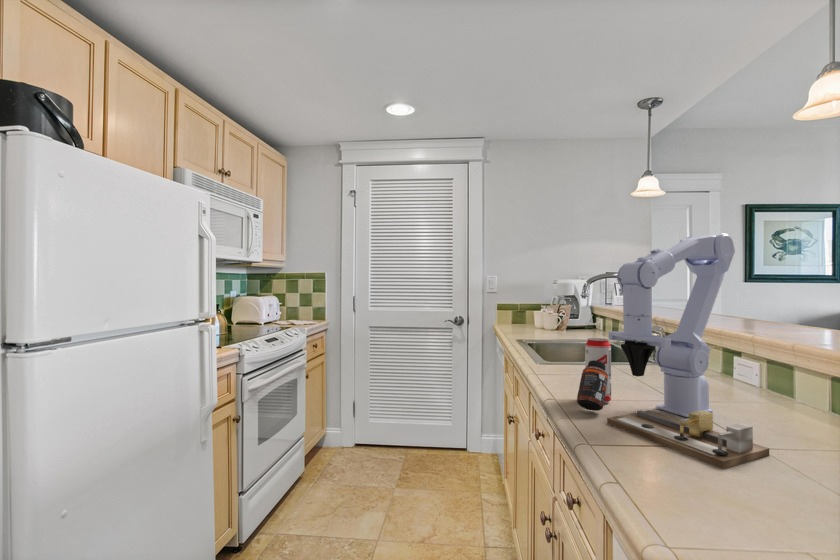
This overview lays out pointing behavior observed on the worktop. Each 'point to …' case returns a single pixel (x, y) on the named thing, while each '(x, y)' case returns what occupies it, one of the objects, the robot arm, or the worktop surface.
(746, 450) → the board
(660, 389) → the worktop surface
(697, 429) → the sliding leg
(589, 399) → the supplement bottle
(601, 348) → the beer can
